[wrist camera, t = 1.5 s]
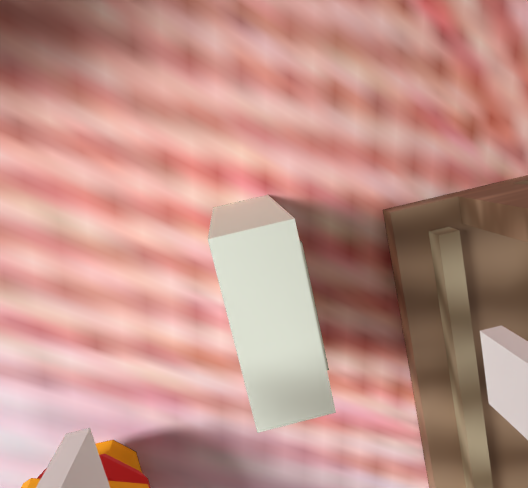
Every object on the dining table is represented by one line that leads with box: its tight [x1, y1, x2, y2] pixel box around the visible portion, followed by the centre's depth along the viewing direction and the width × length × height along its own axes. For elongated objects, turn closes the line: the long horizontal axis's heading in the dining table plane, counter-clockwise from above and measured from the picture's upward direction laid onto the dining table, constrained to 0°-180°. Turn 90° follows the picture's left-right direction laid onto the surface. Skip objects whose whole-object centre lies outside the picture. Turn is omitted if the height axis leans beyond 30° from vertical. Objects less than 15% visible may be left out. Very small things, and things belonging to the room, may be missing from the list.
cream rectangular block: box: [208, 195, 336, 433], centre depth 27 cm, size 10×4×12 cm, turn 13°
